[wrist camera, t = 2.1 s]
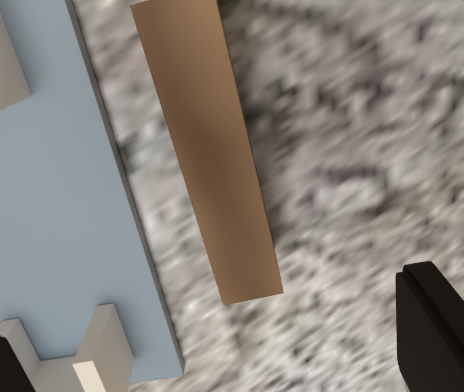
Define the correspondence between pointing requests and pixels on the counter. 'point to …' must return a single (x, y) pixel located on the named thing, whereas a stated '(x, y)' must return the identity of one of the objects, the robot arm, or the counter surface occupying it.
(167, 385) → the counter surface
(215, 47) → the brown rectangular block
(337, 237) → the counter surface
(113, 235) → the board
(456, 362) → the robot arm
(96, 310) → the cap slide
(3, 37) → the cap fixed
